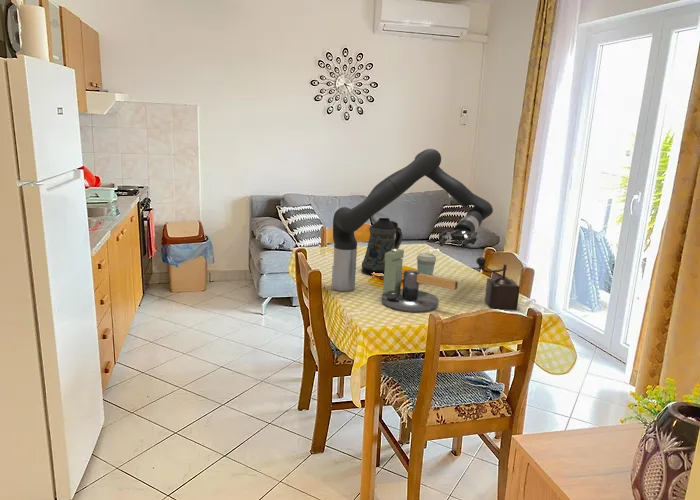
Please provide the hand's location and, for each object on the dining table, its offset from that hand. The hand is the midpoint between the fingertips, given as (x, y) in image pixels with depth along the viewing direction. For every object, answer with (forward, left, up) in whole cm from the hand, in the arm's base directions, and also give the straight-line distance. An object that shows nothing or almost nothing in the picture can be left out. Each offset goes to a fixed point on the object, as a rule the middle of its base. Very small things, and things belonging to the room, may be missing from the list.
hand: (451, 245), depth 202 cm
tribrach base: (-14, -2, -23) cm, 27 cm away
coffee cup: (-7, +29, -24) cm, 38 cm away
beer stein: (-27, +40, -24) cm, 53 cm away
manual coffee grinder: (+19, +4, -24) cm, 30 cm away
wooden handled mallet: (-7, -6, -21) cm, 23 cm away
